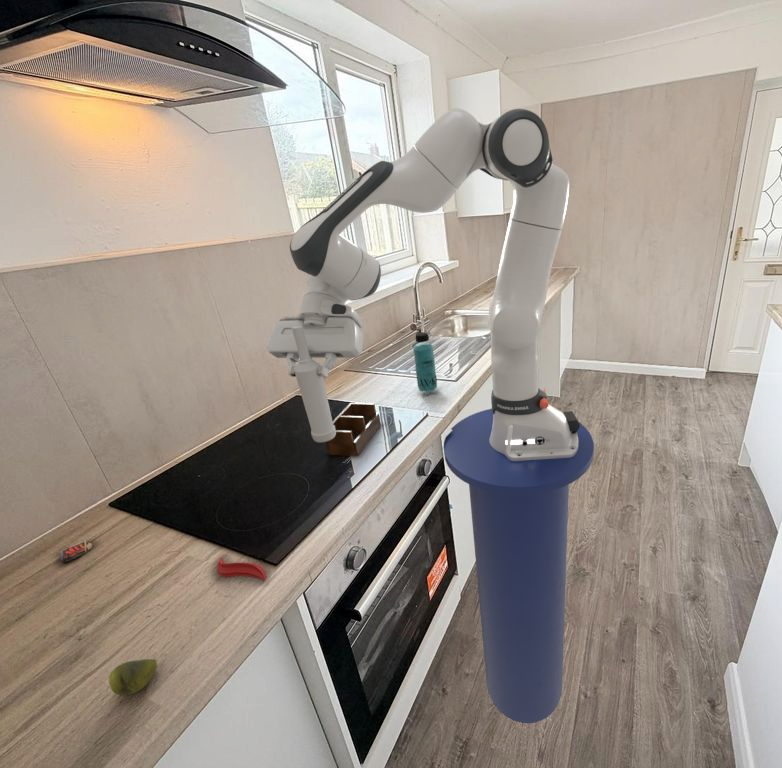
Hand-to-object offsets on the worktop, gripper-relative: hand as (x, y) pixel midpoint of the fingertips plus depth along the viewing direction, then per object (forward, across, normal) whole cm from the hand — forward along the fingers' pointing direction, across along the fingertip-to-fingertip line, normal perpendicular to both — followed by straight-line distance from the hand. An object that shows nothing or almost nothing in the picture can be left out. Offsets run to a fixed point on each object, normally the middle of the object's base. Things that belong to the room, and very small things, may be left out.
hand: (307, 375), depth 84 cm
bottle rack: (+6, -3, +32) cm, 32 cm away
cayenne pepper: (+37, -5, +1) cm, 37 cm away
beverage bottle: (-15, +9, +53) cm, 56 cm away
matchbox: (+37, -42, +1) cm, 56 cm away
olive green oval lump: (+51, -6, -13) cm, 53 cm away
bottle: (+10, 0, +11) cm, 15 cm away
